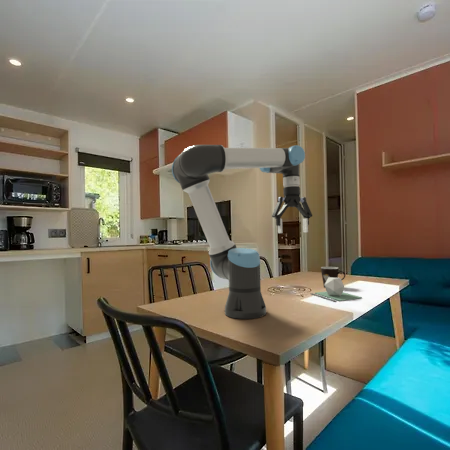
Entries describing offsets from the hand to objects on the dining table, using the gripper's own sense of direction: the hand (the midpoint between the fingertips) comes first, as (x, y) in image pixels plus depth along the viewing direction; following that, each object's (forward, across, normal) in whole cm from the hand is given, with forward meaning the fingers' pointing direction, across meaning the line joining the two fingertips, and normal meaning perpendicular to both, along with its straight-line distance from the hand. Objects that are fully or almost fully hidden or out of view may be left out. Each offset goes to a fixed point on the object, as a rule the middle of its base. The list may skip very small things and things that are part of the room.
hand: (293, 232), depth 131 cm
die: (+28, +14, -9) cm, 33 cm away
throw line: (+29, +8, -9) cm, 31 cm away
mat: (+29, +16, -9) cm, 34 cm away
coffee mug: (+29, +26, +6) cm, 39 cm away
